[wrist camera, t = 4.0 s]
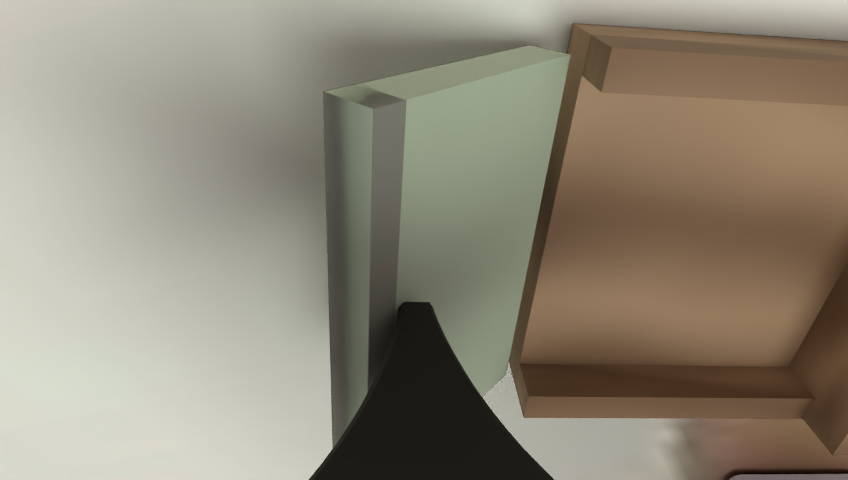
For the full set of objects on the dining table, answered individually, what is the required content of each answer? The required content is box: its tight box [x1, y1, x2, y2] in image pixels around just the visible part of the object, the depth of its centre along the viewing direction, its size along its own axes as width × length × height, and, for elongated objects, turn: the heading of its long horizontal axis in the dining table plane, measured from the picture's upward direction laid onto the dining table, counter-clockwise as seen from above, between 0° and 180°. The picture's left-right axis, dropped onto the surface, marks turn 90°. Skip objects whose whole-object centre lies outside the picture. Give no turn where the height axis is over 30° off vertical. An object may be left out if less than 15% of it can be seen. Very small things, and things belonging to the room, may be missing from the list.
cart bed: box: [509, 23, 848, 455], centre depth 16 cm, size 12×11×4 cm
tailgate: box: [323, 45, 571, 448], centre depth 14 cm, size 11×1×7 cm
